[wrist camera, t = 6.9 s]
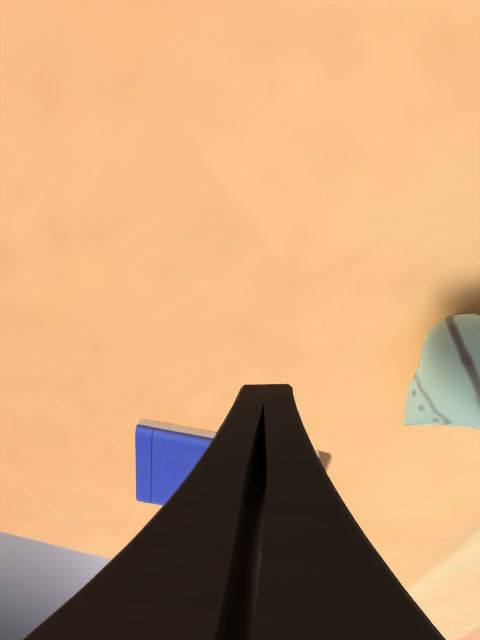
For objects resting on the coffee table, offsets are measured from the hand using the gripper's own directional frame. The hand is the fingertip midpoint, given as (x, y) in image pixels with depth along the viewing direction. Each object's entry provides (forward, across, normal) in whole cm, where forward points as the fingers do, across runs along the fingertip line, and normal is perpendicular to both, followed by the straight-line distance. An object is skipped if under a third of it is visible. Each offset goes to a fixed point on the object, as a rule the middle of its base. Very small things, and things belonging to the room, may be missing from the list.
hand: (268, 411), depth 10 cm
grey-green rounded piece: (+8, -8, +1) cm, 11 cm away
